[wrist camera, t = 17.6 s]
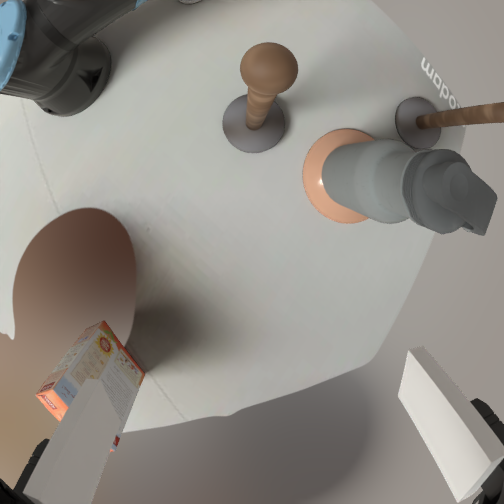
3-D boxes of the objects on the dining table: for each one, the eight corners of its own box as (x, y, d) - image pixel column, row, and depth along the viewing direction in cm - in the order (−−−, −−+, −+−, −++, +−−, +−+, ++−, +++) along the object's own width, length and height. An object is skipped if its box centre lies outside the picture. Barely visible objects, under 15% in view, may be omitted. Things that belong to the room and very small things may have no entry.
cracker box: (85, 328, 51) (32, 394, 31) (105, 318, 50) (53, 388, 30) (125, 381, 55) (92, 455, 35) (146, 374, 54) (116, 453, 34)
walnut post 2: (388, 103, 41) (517, 66, 14) (426, 95, 41) (551, 67, 13) (404, 154, 44) (541, 161, 16) (441, 142, 43) (571, 147, 15)
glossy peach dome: (288, 145, 43) (289, 145, 43) (373, 119, 42) (375, 119, 41) (320, 235, 47) (321, 236, 47) (399, 205, 46) (400, 206, 46)
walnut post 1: (214, 107, 41) (173, 26, 14) (270, 88, 40) (311, -11, 13) (235, 161, 44) (224, 155, 16) (292, 141, 43) (368, 109, 15)
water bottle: (387, 162, 43) (521, 174, 17) (366, 216, 46) (485, 278, 19) (333, 134, 42) (446, 104, 15) (310, 191, 45) (402, 232, 18)
